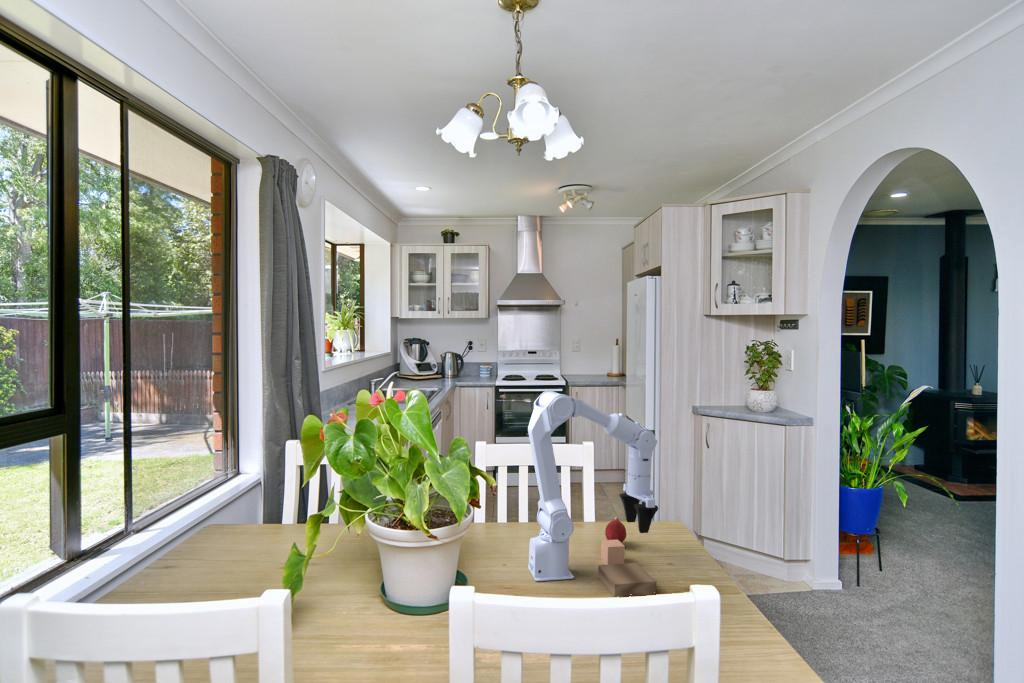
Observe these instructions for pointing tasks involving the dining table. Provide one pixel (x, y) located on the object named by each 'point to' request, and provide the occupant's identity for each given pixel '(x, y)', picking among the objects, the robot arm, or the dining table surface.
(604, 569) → the walnut base
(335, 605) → the dining table surface
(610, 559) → the terracotta cube
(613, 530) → the onion
